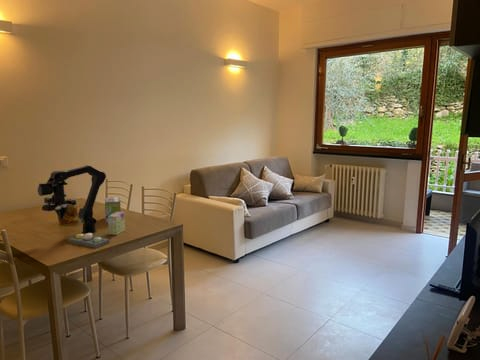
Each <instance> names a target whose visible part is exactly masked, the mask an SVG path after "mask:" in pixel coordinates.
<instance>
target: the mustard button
mask: <svg viewBox="0 0 480 360" xmlns="http://www.w3.org/2000/svg"><path fill="white" fill-rule="evenodd" d="M84 234H85V233H76V234H75V236H76V238H77V239H81V238H84Z"/></svg>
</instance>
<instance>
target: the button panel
mask: <svg viewBox="0 0 480 360" xmlns="http://www.w3.org/2000/svg"><path fill="white" fill-rule="evenodd" d="M96 237H97V236H95V235H92V238H96ZM101 240H102V241H101V242H98V243H96V242H94V240H93V239H92V240H85V238H81V239H77V238H76V235H74V236H70V237H68V238H67V242H68V243H71V244H76V245H79V246H80V245H81V246H85V247H88V248H89V247H90V248H95V249H97V248H100V247H102V246H105V245H106V244H110V243H111V242H110V239H109V238H104V237H101Z"/></svg>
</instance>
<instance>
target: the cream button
mask: <svg viewBox="0 0 480 360" xmlns="http://www.w3.org/2000/svg"><path fill="white" fill-rule="evenodd" d="M83 234H84V238H85V240H92V239H93V238H92V236H93V233H86V234H85V233H83Z"/></svg>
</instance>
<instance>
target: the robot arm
mask: <svg viewBox="0 0 480 360" xmlns="http://www.w3.org/2000/svg"><path fill="white" fill-rule="evenodd" d="M83 174H88V175H90V176H91V186H90V189H89V192H88V195H87V198H86V201H85V204H84V206H83V207H82V208H81V207H79V211H78V213H77V215H78V216H77V218H78V220H80V221H81V223H82V232H81V234H86V233H92V234H94V233H97V232H98V230H96V225H95V224H96V223H97V219H96V218H95V217H93V215H94V214H93V213H94V210H93V208H94V205H95V203H96V199H97V195H98V193H99V190H100V187H101V186H102V185H103V183H104V182H105V180H106V178H107V175H106V173H105V172H104V171H100V170H98V169H96V168H94V166H93V167H92V166H91V165H84V166H80V167H76V168H72V169H69V170H55V171H54V170H53V171H52V172H51V173H50V176H49V177H48V178H49V179H47V182H44V183H39V184H38V187H37V194H38V195H39V196H40V197H43V196H47V197H44V199H43V201H44V204H43V205H42V206H41V211H44V212H53V211H55V213H56V215H57V217H58V220H60V221H61V220H63V219H64V217H65V213H66V212H67V210H68V209H69V206H68V205H72V206H77V201H76V199H66V198H65V197H67V194H66V193H65V186H67V185H68V183H67V182H66V180H68V179H69V178H72V177H76V176H80V175H83ZM50 195H51V198H50V197H48V196H50Z"/></svg>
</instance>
